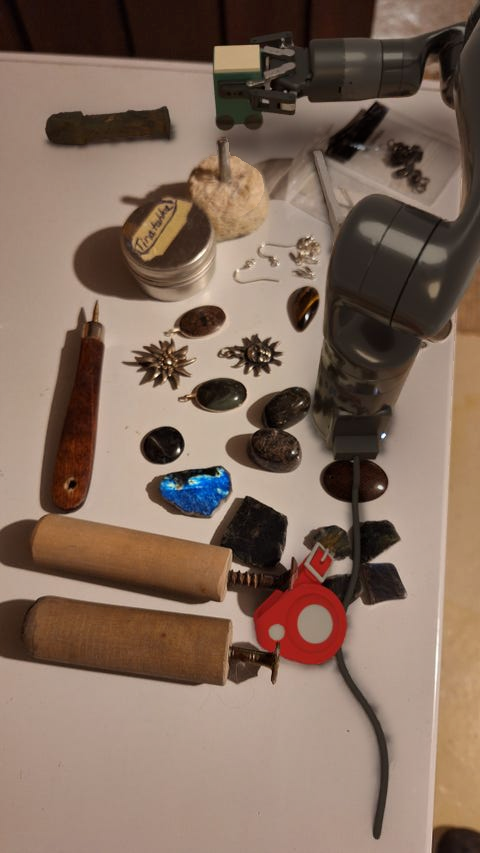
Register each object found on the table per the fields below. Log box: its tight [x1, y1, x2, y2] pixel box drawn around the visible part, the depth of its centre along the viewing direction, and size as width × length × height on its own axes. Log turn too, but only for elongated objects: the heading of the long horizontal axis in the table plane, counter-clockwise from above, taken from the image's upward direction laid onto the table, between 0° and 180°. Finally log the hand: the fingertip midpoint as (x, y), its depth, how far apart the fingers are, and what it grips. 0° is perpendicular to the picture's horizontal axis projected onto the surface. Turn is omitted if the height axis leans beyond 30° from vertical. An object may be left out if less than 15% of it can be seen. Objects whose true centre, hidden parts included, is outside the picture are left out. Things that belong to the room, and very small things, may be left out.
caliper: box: [312, 150, 346, 242], centre depth 88 cm, size 20×1×6 cm, turn 7°
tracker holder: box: [252, 541, 348, 666], centre depth 67 cm, size 12×4×10 cm
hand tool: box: [44, 105, 172, 146], centre depth 96 cm, size 19×4×5 cm, turn 92°
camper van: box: [212, 44, 264, 132], centre depth 88 cm, size 5×7×10 cm
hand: (218, 74), depth 86 cm, fingers closed on camper van, 5 cm apart
